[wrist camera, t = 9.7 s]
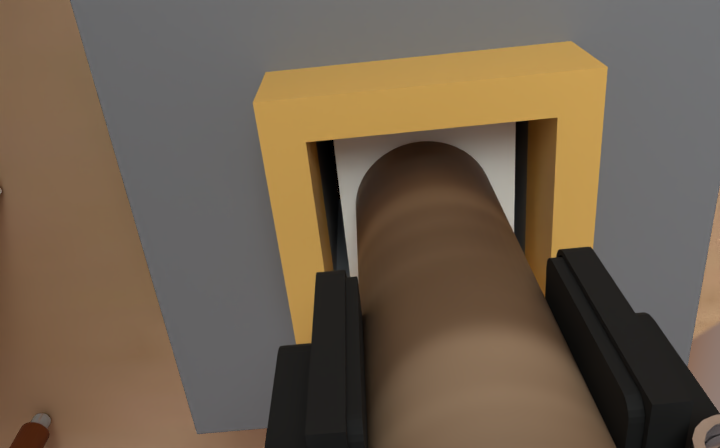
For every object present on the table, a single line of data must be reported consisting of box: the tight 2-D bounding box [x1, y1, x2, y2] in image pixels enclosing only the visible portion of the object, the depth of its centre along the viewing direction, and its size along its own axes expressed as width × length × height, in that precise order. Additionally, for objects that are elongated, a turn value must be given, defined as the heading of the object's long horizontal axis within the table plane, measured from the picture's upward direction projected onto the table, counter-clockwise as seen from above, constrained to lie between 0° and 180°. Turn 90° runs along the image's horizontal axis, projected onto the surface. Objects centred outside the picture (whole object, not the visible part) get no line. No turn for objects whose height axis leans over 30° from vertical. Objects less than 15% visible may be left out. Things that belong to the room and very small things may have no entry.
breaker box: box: [70, 0, 720, 434], centre depth 19 cm, size 16×16×8 cm
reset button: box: [333, 122, 516, 284], centre depth 20 cm, size 4×4×6 cm
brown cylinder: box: [356, 141, 616, 448], centre depth 10 cm, size 4×4×15 cm
